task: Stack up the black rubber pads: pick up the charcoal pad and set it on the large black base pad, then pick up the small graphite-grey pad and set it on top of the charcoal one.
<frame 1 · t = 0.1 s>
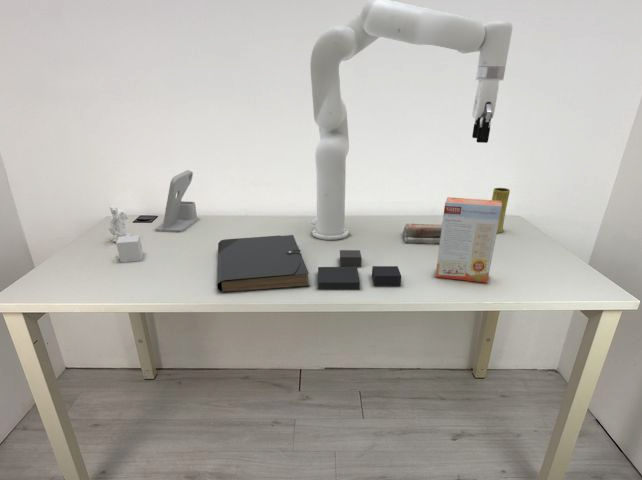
hand: (479, 140, 141), 31 cm above the table, tool pointing down, fingers open, 9 cm apart
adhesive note: (132, 258, 143), on the table
cracker box: (461, 277, 131), on the table
grey pad: (350, 263, 140), on the table
dark grey book: (260, 267, 137), on the table
packaged product: (430, 239, 159), on the table
base pad: (338, 281, 128), on the table
phone holder: (178, 225, 173), on the table
vase: (493, 231, 168), on the table
white figurine: (122, 241, 157), on the table
charcoal pad: (385, 281, 128), on the table
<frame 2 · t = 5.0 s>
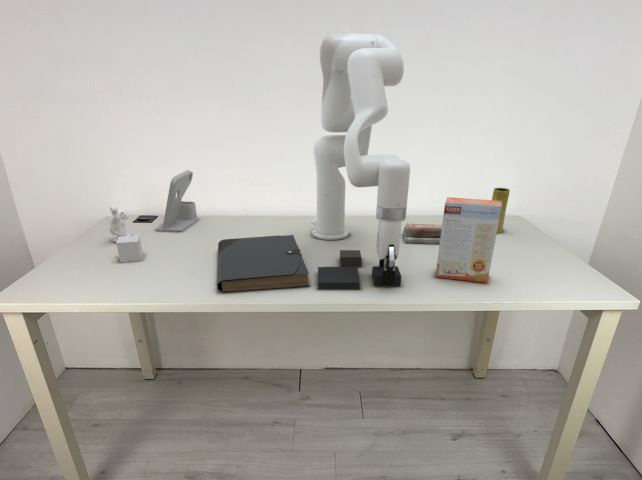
hand: (386, 277, 128), 1 cm above the table, tool pointing down, fingers closed on charcoal pad, 7 cm apart
charcoal pad: (385, 281, 128), on the table, touching gripper
everything else where it was.
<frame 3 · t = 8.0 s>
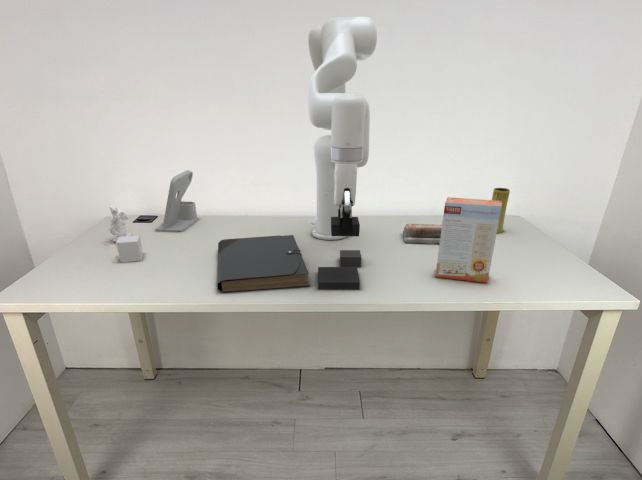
hand: (344, 228, 121), 15 cm above the table, tool pointing down, fingers closed on charcoal pad, 7 cm apart
charcoal pad: (344, 232, 121), point 14 cm above the table, touching gripper
everything else where it was.
when the fingers open (3 cm above the table, at t = 11.2 s): charcoal pad stays where it is, resting on base pad.
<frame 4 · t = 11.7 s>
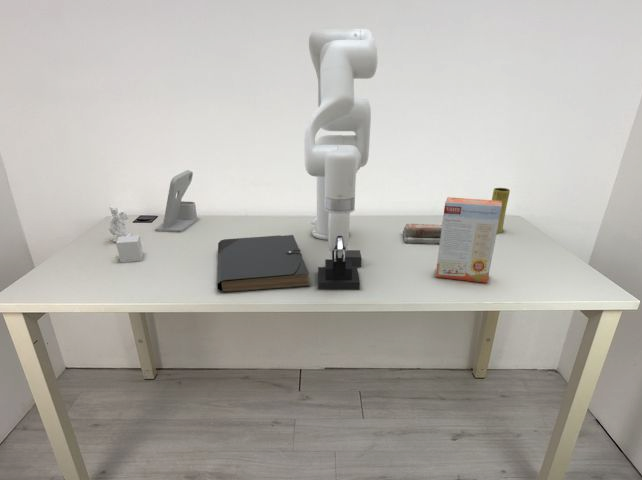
hand: (338, 268, 126), 4 cm above the table, tool pointing down, fingers open, 9 cm apart
base pad: (338, 281, 128), on the table, touching charcoal pad
charcoal pad: (338, 274, 127), point 2 cm above the table, touching base pad
everything else where it was.
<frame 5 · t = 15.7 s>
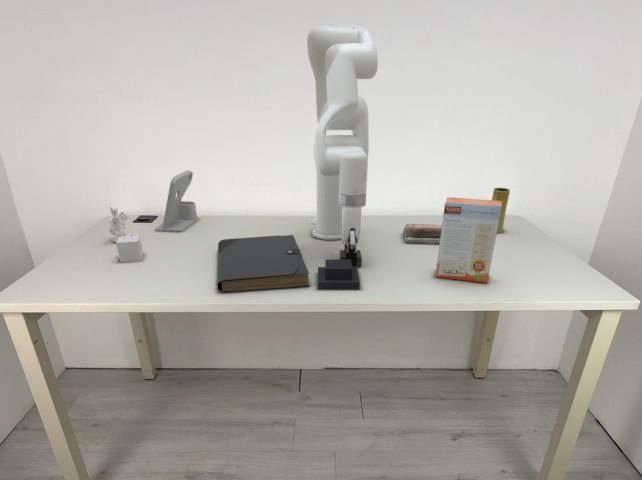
hand: (350, 260, 139), 1 cm above the table, tool pointing down, fingers closed on grey pad, 6 cm apart
grey pad: (350, 263, 140), on the table, touching gripper
everything else where it was.
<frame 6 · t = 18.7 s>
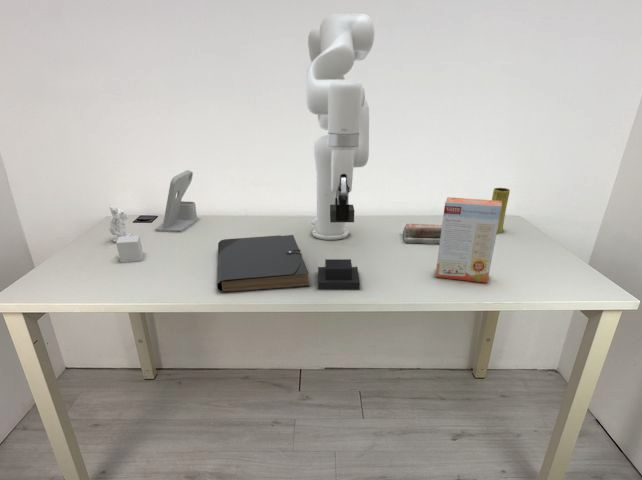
hand: (341, 216, 121), 17 cm above the table, tool pointing down, fingers closed on grey pad, 6 cm apart
grey pad: (341, 219, 121), point 16 cm above the table, touching gripper
everything else where it was.
when the fingers open (6 cm above the table, at t = 21.8 s): grey pad stays where it is, resting on charcoal pad.
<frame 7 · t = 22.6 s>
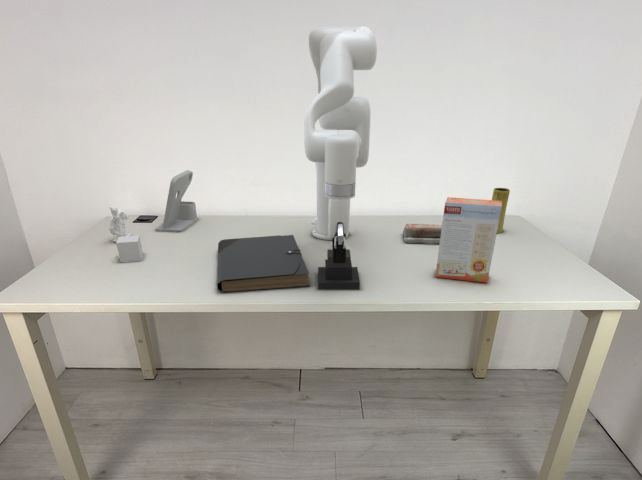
hand: (338, 255, 125), 7 cm above the table, tool pointing down, fingers open, 9 cm apart
grey pad: (338, 263, 126), point 5 cm above the table, touching charcoal pad
charcoal pad: (338, 274, 127), point 2 cm above the table, touching base pad, grey pad
everything else where it was.
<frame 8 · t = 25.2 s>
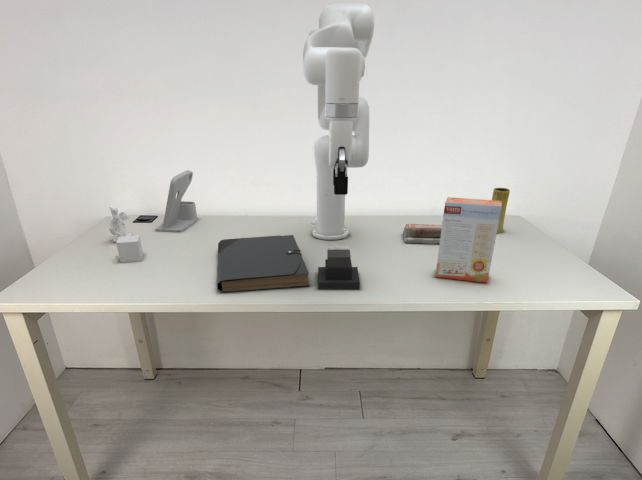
hand: (340, 189, 116), 24 cm above the table, tool pointing down, fingers open, 9 cm apart
nothing on the table moved.
at the end: charcoal pad 0.0 cm off-centre on the base pad, point 2.0 cm above the base pad's base; grey pad 0.0 cm off-centre on the charcoal pad, point 3.0 cm above the charcoal pad's base; grey pad tilted 0° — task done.
